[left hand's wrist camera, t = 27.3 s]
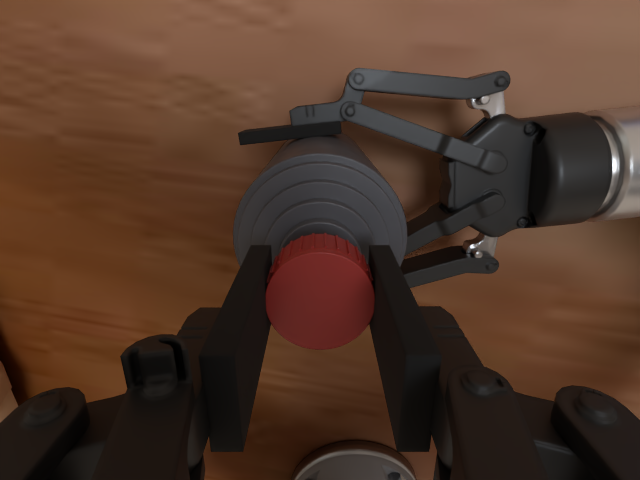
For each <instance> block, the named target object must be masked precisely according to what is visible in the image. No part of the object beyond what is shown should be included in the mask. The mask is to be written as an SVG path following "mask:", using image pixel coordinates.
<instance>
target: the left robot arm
mask: <svg viewBox="0 0 640 480" xmlns="http://www.w3.org/2000/svg"><path fill="white" fill-rule="evenodd" d="M368 264H369V267H370V271H371V274H372V277H373V282H372V284H373V287H374V291H375V301H374V314H373V316H372V319H371V321H370V323H369V325H370V329H371V334H372V338H373V343H374V348H375V352H376V357H377V361H378V366H379V370H380V375H381V380H382V384H383V389H384V393H385V398H386V403H387V407H388V412H389V416H390V421H391V425H392V430H393V435H394V439H395V444H396V448H397V452H429V449H430V441H431V434H432V437H433V440H434V443H435V446H436V449H437V457H436V464H435V471H434V478H433V480H640V420H639V419H638V418H637V417H636V416H635V415H634V414H633V413H632V412H631V411H630V410H628V409H627V408H626V407H625V406H624V405H622V404H621V403H620V402H618V401H617V400H616V399H614V398H612V397H610V396H608V395H606V394H604V393H602V392H600V391H597V390H594V389H591V388H587V387H582V386H568V387H563V388H561V389H560V390H559V391H558V392H557V393H556V397H555V401H549V400H545V399H540V398H536V397H532V396H527V395H524V394H520V393H517V392H515V391H514V390H513V388H512V387H511V385H510V384H509V382H508V381H507V380H506V379H505V378H504V377H503V376H501V375H500V374H499V373H497V372H495V371H493V370H491V369H489V368H487V367H484V366H483V365H482V363H481V361H480V360H479V358H478V356H477V355H476V353H475V351H474V350H473V348H472V347H471V345H470V343H469V342H468V340H467V338H466V337H465V336H464V333H463V332H462V330H461V329H460V328H459V325H458V324H457V322H456V320H455V319H454V317H453V316H452V315H451V314H450V313H448V312H447V311H446V310H444V309H443V308H442V307H440V306H418V305H417V302H416V300H415V298H414V296H413V294H412V292H411V290H410V288H409V286H408V283H407V281H406V279H405V277H404V275H403V273H402V271H401V269H400V267H399V264H398V262H397V260H396V258H395V256H394V254H393V252H392V250H391V247H390V245H369V258H368ZM271 265H272V252H271V245H251V246H250V248H249V250H248V252H247V254H246V256H245V259H244V261H243V263H242V265H241V267H240V269H239V271H238V273H237V276H236V278H235V280H234V282H233V284H232V286H231V288H230V290H229V292H228V295H227V297H226V299H225V301H224V303H223V305H222V307H221V308H199V309H198V310H196V311H195V312H194V313H192V314H191V315H190V316H188V317H187V319H186V321H185V322H184V324H183V326H182V327H181V330H180V331H179V332H178V334H177V336H176V335H173V334H161V335H156V336H151V337H147V338H145V339H142V340H140V341H137V342H135V343H134V344H132V345H131V346H130V347H128V348H127V349H126V350H125V351H124V352H123V354H122V355H121V356H120V357H121V361H122V366H123V371H124V375H125V380H126V384H127V391H126V393H125V394H122V395H119V396H115V397H111V398H107V399H103V400H98V401H94V402H89V403H86V399H85V396H84V394H83V393H82V392H81V391H80V390H79V389H75V388H70V387H65V388H55V389H52V390H49V391H46V392H42V393H40V394H38V395H36V396H34V397H32V398H30V399H28V400H26V401H25V402H24V403H22V404H21V405H20V406H18V407H17V408H16V409H14V410H13V411H12V412H11V413H10V414H9V415H8V416H7V417H6V418H5V419H4V420H3V421H2V422H1V423H0V480H204V475H205V464H204V457H203V452H204V449H205V446H206V443H207V440H208V437H209V439H210V447H211V452H243V450H244V445H245V440H246V436H247V431H248V427H249V422H250V417H251V413H252V408H253V404H254V399H255V395H256V390H257V385H258V381H259V376H260V372H261V367H262V362H263V358H264V353H265V349H266V344H267V339H268V335H269V330H270V326H271V322H270V320H269V318H268V315H267V312H266V295H265V293H266V289H267V285H268V283H267V279H268V275H269V272H270V268H271Z"/></svg>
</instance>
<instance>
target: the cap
mask: <svg viewBox="0 0 640 480" xmlns="http://www.w3.org/2000/svg"><path fill="white" fill-rule="evenodd" d="M372 282H373V277H372V274H371V271H370V267H369V264H367V263H366V260H365V256H364V254H363V255H362V254H361V253H360V252H359V250H358V248H357V246H353V245H352V244H351V243H349V241H348V240H344V239H342V238H340V237H338V235H336V236H333V235H329V234H326V233H324V234H315V233H312V234H311V235H307V236H301V238H298V239H296V240H294V241H290V244H288V245H287V246H286V247H285V248H284V247H283V248H282V249H281V252H280V253H279V255H278V256H276V257H275V259H274V263H273V265H271V268H270V272H269V275H268V279H267V283H268V285H267V289H266V293H265V295H266V312H267V315H268V318H269V320H270V322H271V324H272V325H273V327H274V328H275V330H276V331H277V332H278V333H279V334H280V335H281V336H283V337H284V338H285V339H287V340H288V341H290V342H292V343H294V344H296V345H298V346H301V347H304V348H309V349H316V350H324V349H332V348H336V347H339V346H342V345H345V344H347V343H349V342H351V341H352V340H354V339H355V338H357V337H358V336H359V335H360V334H361V333H362V332H363V331H364V330H365V329H366V327H367V326H368V324H369V323H370V321H371V319H372V316H373V314H374V301H375V291H374V287H373V284H372Z"/></svg>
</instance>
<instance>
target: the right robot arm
mask: <svg viewBox="0 0 640 480" xmlns="http://www.w3.org/2000/svg"><path fill="white" fill-rule="evenodd" d="M509 84H510V76H509V74H508V73H507V72H505V71H497V72H490V73H484V74H480V75H477V76H473V77H469V78H458V77H448V76H437V75H427V74H417V73H406V72H396V71H385V70H375V69H365V68H356V69H354V70H352V71H351V72H350V73H349V74H348V76H347V78H346V83H345V87H344V91H343V95H342V96H341V98H340V99H339V100H338V101H336V102H331V103H322V104H314V105H305V106H297V107H296V108H294V109H292V110H290V118H291V125H284V126H275V127H266V128H258V129H249V130H244V131H242V132H239V133H238V135H239V141H240V145H246V144H255V143H264V142H273V141H282V140H291V139H300V138H309V137H318V136H326V135H335V134H341V124H340V122H342V121H350V122H352V123H355V124H358V125H361V126H364V127H366V128H369V129H372V130H375V131H377V132H380V133H383V134H386V135H389V136H391V137H394V138H397V139H400V140H403V141H405V142H408V143H411V144H414V145H417V146H419V147H422V148H425V149H428V150H431V151H433V152H436V153H439V154H441V155H443V157H442V158H440V172H441V176H442V184H441V187H440V202H438V203H437V204H435V205H433V206H431V207H430V208H429V209H428V210H427V212H425V213H423V214H422V215H420V216H418V217H416V218H414V219H413V220H411V221H409V222H407V223H406V224H407V245H406V251H405V255H407V254H409V253H411V252H413V251H415V250H417V249H418V248H420V247H422V246H424V245H426V244H428V243H430V242H432V241H433V240H435V239H437V238H439V237H441V236H444V235H451V234H453V233H455V232H457V231H459V230H461V229H463V228H465V227H467V226H468V225H469V226H470V227H472V228H474V229H475V230H477V231H479V235H478V236H477V237H476V238H474V239H471V240H466V241H464V243H463V246H452V247H448V248H444V249H440V250H437V251H433V252H429V253H426V254H422V255H419V256H415V257H412V258H408V259H405V260H403V261H402V264H401V266H400V269H401V271H402V273H403V275H404V277H405V279H406V281H407V283H408V286H409V288H412V287H416V286H419V285H423V284H427V283H430V282H434V281H438V280H441V279H445V278H449V277H452V276H456V275H460V274H463V273H486V274H490V273H494V272H495V271H496V270H497V269H498V267H499V263H498V261H497V260H496V259H495V258H494V252H495V248H496V243H497V239H498V237H500V236H502V235H504V234H506V233H507V232H509V231H511V230H514V229H517V228H536V227H546V226H555V225H565V224H575V223H581V222H584V221H590V222H598V221H607V220H615V219H624V218H633V217H640V106H632V107H622V108H613V109H603V110H594V111H588V112H586V113H584V114H583V113H579V112H574V113H565V114H556V115H547V116H538V117H529V118H515V117H513V116H511V115H508V114H505V103H504V92H503V91H504V90H505V89H506V88H507V87H508V86H509ZM364 91H367V92H378V93H389V94H399V95H410V96H420V97H431V98H441V99H466V104H467V106H468V107H469V108H471V109H479V110H481V111H482V112H483V113H484V116H485V117H484V118H483V119H481V120H480V121H479V122H478V123H477V124H475V125H474V126H473V127H472V128H471V129H469V130H468V131H467V132H466V133H465V134H463V135H462V136H461V137H460V138H459V139H456V138H453V137H450V136H447V135H445V134H442V133H439V132H436V131H433V130H431V129H428V128H425V127H422V126H420V125H417V124H414V123H412V122H409V121H406V120H403V119H401V118H398V117H395V116H392V115H390V114H387V113H384V112H381V111H379V110H376V109H373V108H370V107H368V106H365V105H362V104H361V102H362V99H363V95H364ZM405 255H404V256H405ZM291 480H416V476H415V473H414V470H413V469H412V467H411V465H410V464H409V462H408V461H407V460H406V459H405V458H404V457H403V456H402V455H400V454H399V453H398V452H396V451H394V450H393V449H391V448H388V447H386V446H384V445H381V444H377V443H373V442H368V441H344V442H338V443H333V444H330V445H327V446H324V447H322V448H320V449H318V450H316V451H314V452H312V453H311V454H309V455H308V456H307V457H306V458H304V459H303V460H302V461H301V462H300V464H299V465H298V466H297V468H296V469H295V471H294V473H293V475H292V479H291Z"/></svg>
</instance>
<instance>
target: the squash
mask: <svg viewBox="0 0 640 480" xmlns="http://www.w3.org/2000/svg"><path fill="white" fill-rule="evenodd" d="M11 388H12V386H11V383H10V381H9V378H8V376H7V373H6V371H5V368H4V366H3V364H2V362H1V361H0V423H1V422H2V421H3V420H4V419H5V418H6V417H7V416H8V415H9V414H10V413H11V412H12V411H13V410H14V409H16V408H17V407H18V404H17V402H16V400H15V398H14V395H13V393H12V391H11Z"/></svg>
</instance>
